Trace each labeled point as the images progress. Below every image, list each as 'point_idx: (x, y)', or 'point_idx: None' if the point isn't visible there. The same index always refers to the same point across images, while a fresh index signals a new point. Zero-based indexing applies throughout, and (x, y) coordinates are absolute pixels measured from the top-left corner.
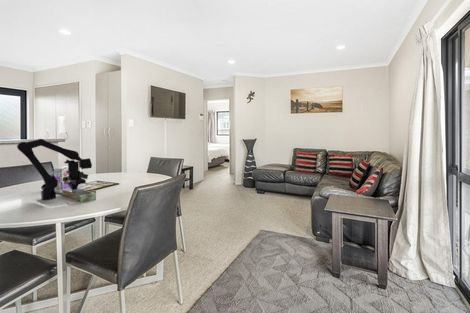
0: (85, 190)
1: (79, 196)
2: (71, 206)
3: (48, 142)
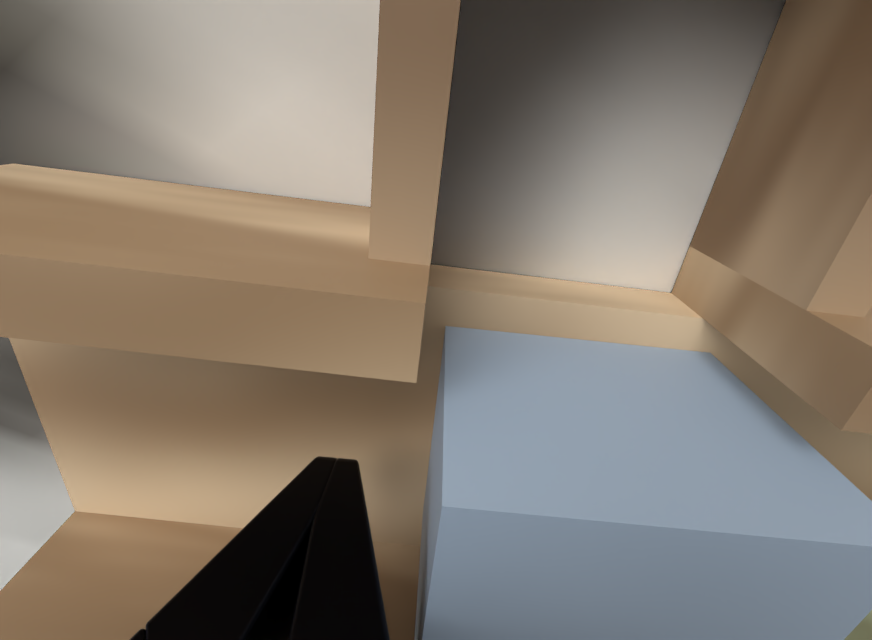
0: (422, 90)
1: None
2: None
3: None
